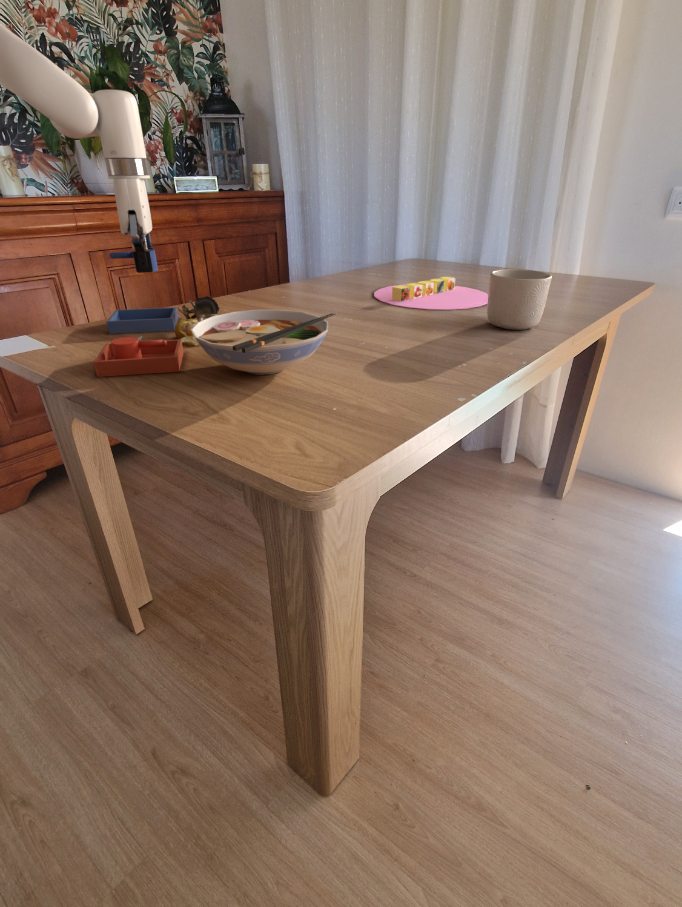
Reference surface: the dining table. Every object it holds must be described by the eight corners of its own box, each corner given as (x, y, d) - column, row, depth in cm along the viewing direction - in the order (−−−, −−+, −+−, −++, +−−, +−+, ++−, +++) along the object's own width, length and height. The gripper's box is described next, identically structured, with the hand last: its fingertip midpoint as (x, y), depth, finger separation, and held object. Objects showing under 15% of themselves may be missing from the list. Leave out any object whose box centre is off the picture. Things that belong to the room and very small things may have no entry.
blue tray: (109, 334, 104) (106, 321, 103) (118, 321, 113) (115, 309, 111) (174, 330, 106) (172, 318, 105) (178, 318, 115) (176, 307, 114)
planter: (547, 323, 112) (558, 272, 107) (532, 336, 103) (543, 281, 98) (493, 315, 118) (501, 267, 113) (475, 327, 109) (482, 275, 104)
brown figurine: (179, 326, 105) (220, 318, 104) (174, 293, 106) (215, 285, 105) (193, 336, 113) (231, 329, 112) (189, 306, 113) (227, 298, 112)
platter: (349, 294, 138) (349, 281, 136) (424, 279, 156) (425, 268, 154) (441, 316, 117) (442, 302, 115) (514, 296, 135) (517, 284, 134)
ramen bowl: (262, 339, 101) (259, 298, 97) (357, 360, 90) (358, 314, 86) (162, 376, 83) (153, 327, 79) (267, 407, 72) (263, 353, 68)
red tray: (97, 376, 82) (93, 361, 81) (109, 357, 91) (106, 343, 90) (179, 371, 85) (176, 356, 83) (183, 352, 93) (181, 339, 92)
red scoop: (114, 367, 85) (108, 345, 83) (118, 359, 89) (113, 337, 87) (168, 364, 87) (164, 342, 85) (171, 356, 90) (167, 334, 88)
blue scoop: (159, 268, 106) (155, 248, 104) (156, 272, 103) (153, 251, 101) (115, 270, 105) (110, 250, 103) (110, 274, 101) (106, 253, 99)
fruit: (187, 347, 96) (184, 329, 94) (164, 339, 101) (161, 321, 99) (222, 338, 101) (220, 320, 99) (198, 330, 106) (196, 313, 104)
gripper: (115, 170, 102) (134, 264, 111) (97, 170, 87) (120, 278, 96) (153, 169, 103) (169, 263, 112) (142, 170, 88) (161, 276, 98)
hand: (146, 269), depth 104 cm, fingers closed on blue scoop, 4 cm apart
